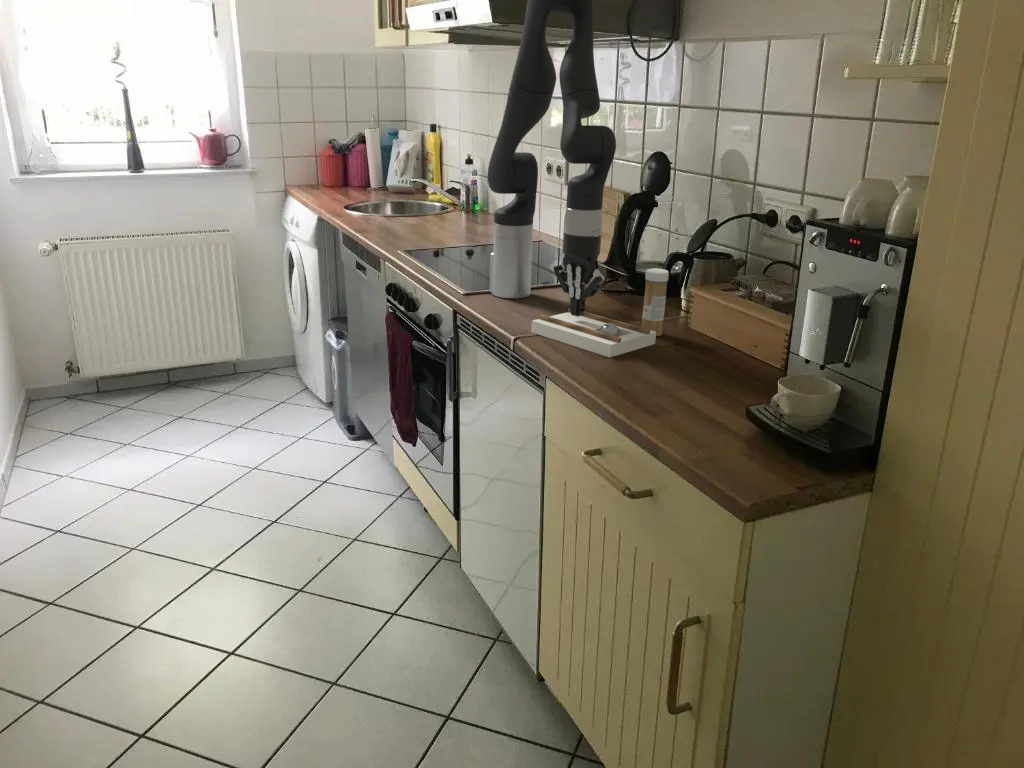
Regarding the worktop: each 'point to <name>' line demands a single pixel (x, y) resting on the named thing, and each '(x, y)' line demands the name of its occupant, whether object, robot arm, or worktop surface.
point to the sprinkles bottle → (654, 299)
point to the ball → (610, 329)
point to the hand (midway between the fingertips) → (577, 315)
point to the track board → (593, 333)
